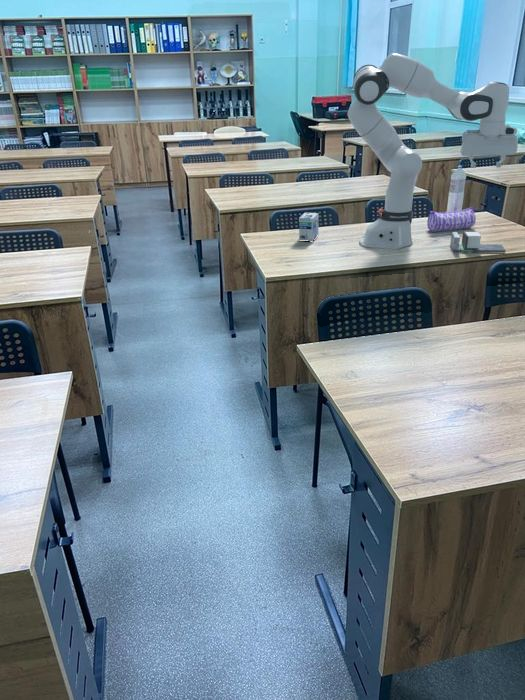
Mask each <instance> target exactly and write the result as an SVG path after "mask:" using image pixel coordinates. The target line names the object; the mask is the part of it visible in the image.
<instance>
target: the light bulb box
mask: <svg viewBox="0 0 525 700" xmlns="http://www.w3.org/2000/svg"><path fill="white" fill-rule="evenodd" d="M319 217H320V215H319V213H318V212H304V213H303V214H301V216H300V217H299V218H298V239H299V240H308V241H313V240H314V239H315V238H316V237H317V235H318V236H319V225H320V224H319V221H320V220H319ZM317 238H318V237H317ZM299 240H298V241H299Z"/></svg>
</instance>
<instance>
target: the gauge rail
mask: <svg viewBox="0 0 525 700" xmlns="http://www.w3.org/2000/svg"><path fill="white" fill-rule="evenodd" d="M460 241H461V236H460V234H459V233H458V232H457V231H451V236H450V244H449V248H450V250H451V252H452V253H459V252H460V253H461V252H462V253H461V254H464V253H463V252H505V253H506V249H505V247H504V246H503V244H495V243H494V244H492V243H491V244H490V243H489V244H487V243H485V244H483V243H480V246H479V248H467V249H465V248H464V246H463V245H462V243H460ZM460 253H459V254H460Z"/></svg>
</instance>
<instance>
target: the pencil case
mask: <svg viewBox="0 0 525 700" xmlns="http://www.w3.org/2000/svg"><path fill="white" fill-rule="evenodd" d="M426 224H427V229H428V230H429V231H430V232H432V233H435V232H436V233H437V232H444V231H454V230H464V229H471V228H473V227H474V226H475V224H476V214H475V212H474V207H467V208H464V209H462V210H461V211H453V212H447V211H445V212H437V211H432V210H431V211H430V210H429V215H428V217H427V223H426Z"/></svg>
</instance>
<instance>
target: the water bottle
mask: <svg viewBox="0 0 525 700" xmlns="http://www.w3.org/2000/svg"><path fill="white" fill-rule="evenodd" d="M462 168H463V166H462V165H457V169H455V170H454V171H453V172H452V173H451V176H450V185H449V191H448V198H447V199H448V200H447V207H446V212H453V211H461V210H463V209H462V208H463V202H464V195H465V185H466V179H467V174H466V172H465V171H464V169H462Z"/></svg>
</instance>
